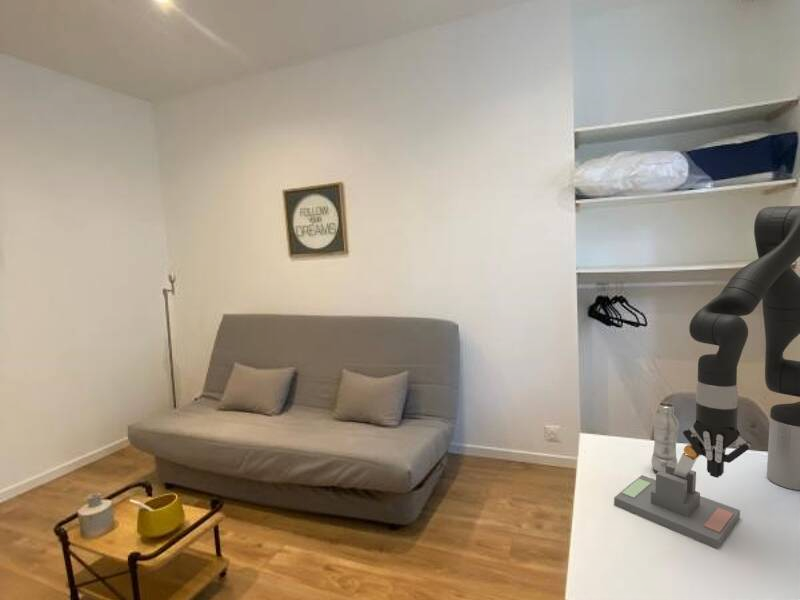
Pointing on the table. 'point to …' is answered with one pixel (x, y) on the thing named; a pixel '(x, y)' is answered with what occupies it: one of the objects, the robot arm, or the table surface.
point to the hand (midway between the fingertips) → (715, 475)
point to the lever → (686, 462)
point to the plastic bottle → (664, 437)
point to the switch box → (679, 506)
